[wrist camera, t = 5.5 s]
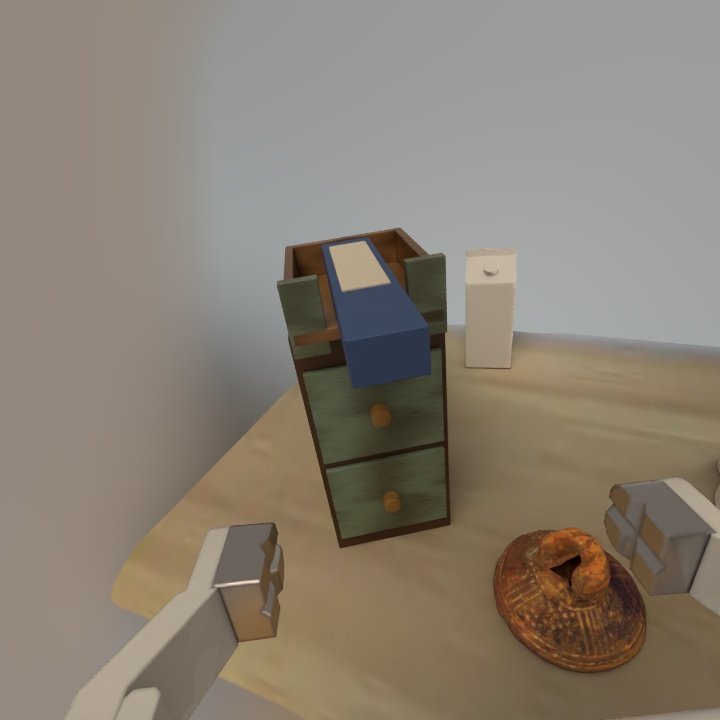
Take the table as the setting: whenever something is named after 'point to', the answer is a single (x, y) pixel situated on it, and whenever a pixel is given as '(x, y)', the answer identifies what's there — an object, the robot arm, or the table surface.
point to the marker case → (374, 316)
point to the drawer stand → (372, 399)
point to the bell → (570, 600)
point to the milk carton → (490, 307)
